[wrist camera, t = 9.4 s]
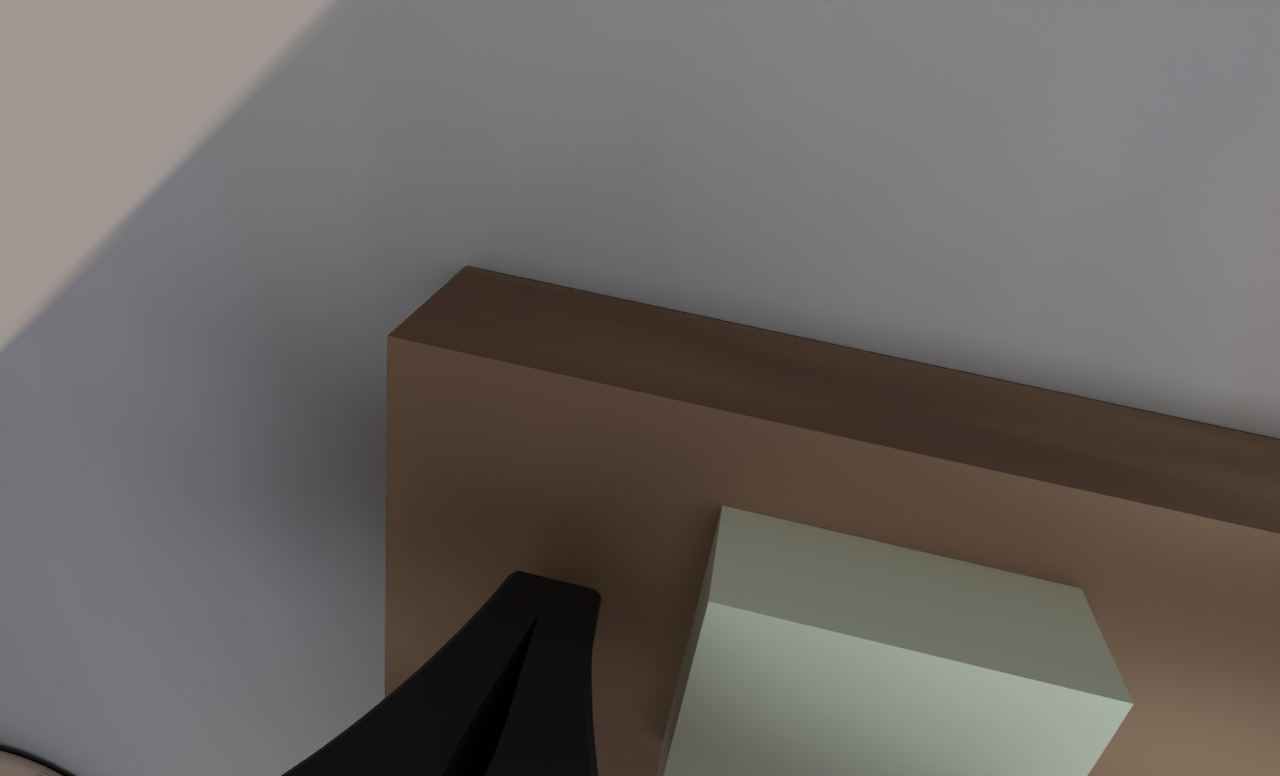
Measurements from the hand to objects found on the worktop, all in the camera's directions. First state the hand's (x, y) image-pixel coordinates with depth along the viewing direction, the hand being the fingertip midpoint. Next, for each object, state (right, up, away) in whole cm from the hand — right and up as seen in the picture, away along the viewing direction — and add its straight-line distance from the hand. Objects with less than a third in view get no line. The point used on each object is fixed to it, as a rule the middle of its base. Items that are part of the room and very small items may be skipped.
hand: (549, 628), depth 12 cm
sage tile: (+5, -1, 0) cm, 5 cm away
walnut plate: (+5, -3, +5) cm, 7 cm away
